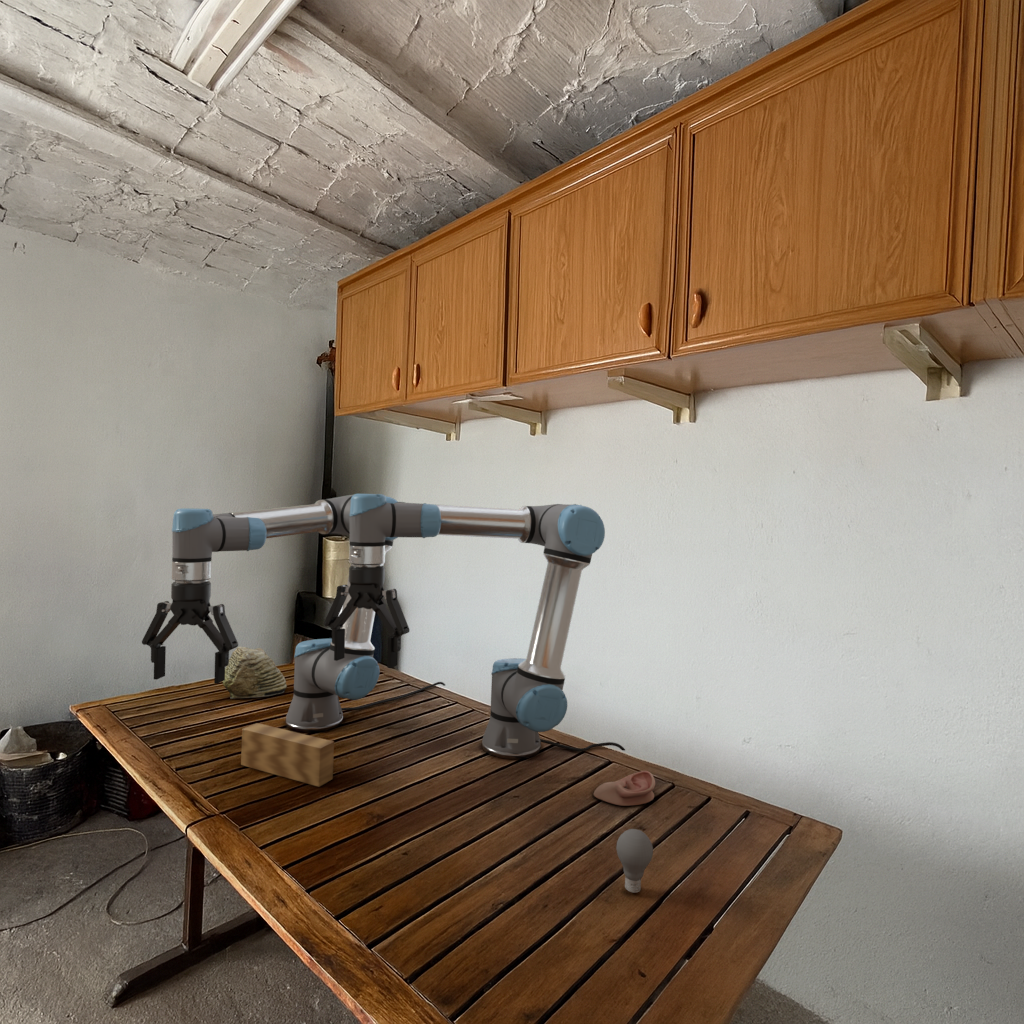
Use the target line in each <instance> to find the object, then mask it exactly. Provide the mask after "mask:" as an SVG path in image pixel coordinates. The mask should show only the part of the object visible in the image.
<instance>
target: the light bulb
mask: <svg viewBox="0 0 1024 1024" xmlns="http://www.w3.org/2000/svg"><path fill="white" fill-rule="evenodd" d="M615 849H616V854H617V857H618V859H619V861H620V863H621V865H622V867H623V873H624V874H623V875H624V876H625V878H624V888H625V890H627V891H628V892H630V893H634V894H635V893H639V892H640V891H641V889H642V887H641V886H642V879H643V877H644V875H645V871H646V868H647V867H648V866H649V864H650V863H651V861H652V859H653V855H654V847H653V843H652V841H651V838H649V836H648V835H647V834H646V833H645V832H643V831H642V830H641V829H636V828H629V829H627V830H625V831H623V832H622V833H621V834H620V835H619V837H618V839H617V841H616V847H615Z"/></svg>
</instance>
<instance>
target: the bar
mask: <svg viewBox="0 0 1024 1024" xmlns="http://www.w3.org/2000/svg"><path fill="white" fill-rule="evenodd" d="M334 757H335V741H334V740H329V739H325V738H321V737H317V736H313V735H309V734H305V733H302V732H301V733H300V732H298V731H294V730H288V729H285V728H280V727H275V726H271V725H268V724H263V723H259V722H255V723H253V724H251V725H249V726H248V725H247V726H246V727H243V728H242V729H241V755H240V765H241V766H242V767H243V766H244V767H247V768H250V769H254V770H256V771H257V770H258V771H261V772H264V773H267V774H272V775H275V776H279V777H283V778H286V779H289V780H293V781H295V782H296V781H297V782H300V783H304V784H308V785H310V786H314V787H318V788H320V787H322V786H323V785H325V784H327V783H328V782H330V781H331V780H333V779H334Z"/></svg>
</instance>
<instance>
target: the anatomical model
mask: <svg viewBox="0 0 1024 1024" xmlns="http://www.w3.org/2000/svg"><path fill="white" fill-rule="evenodd" d="M655 787H656V779H655V776H654V775H653V774H652V772H651V771H648V770H641V771H636V772H634V773H631V774H629V775H626V776H624V777H623V778H620V779H618V780H615V781H606V782H604V783H601V784H600V785H599V786H597V787H596V788H595V789H594V792H593V797H595V798H596V799H598V800H600V801H603V802H606V803H608V804H612V805H616V806H621V807H627V806H638V805H643V804H647V803H650V802H651V801H653V800H654V798H655V793H654V791H653V790H654V789H655Z"/></svg>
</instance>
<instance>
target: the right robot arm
mask: <svg viewBox="0 0 1024 1024" xmlns="http://www.w3.org/2000/svg"><path fill="white" fill-rule="evenodd" d="M352 495H353V496H352V497H351V506H350V514H349V516H350V535H349V539H350V542H349V547H348V548H349V549H348V550H349V552H348V553H349V555H348V556H349V557H348V559H349V560H348V561H349V564H350V565H349V567H348V577H349V582H350V587H348V585H347V584H342V585H338V586H337V588H336V592H335V597H334V599H333V602H332V604H331V606H330V608H329V611H328V612H327V614H326V617H325V619H324V622H323V625H324V627H328V628H330V630H331V639H332V644H334V660H335V661H338V660H340V659H343V658H345V629H340V628H342V627H343V625H344V623H345V622H346V621H347V620H348V618H349V617H350V616H351V614H352V613H353V612H354V611H355V609H356V608H357V607H358V608H366V609H373V611H374V612H375V614H377V616H378V617H379V619H380V620H381V622H382V623H383V625H384V627H385V628H386V630H387V631H388V632H389V634H390V636H388V637H387V666H386V667H387V669H393V668H394V667H397V666H398V653H399V652H400V651H401V649H402V636H403V635H406V634H408V633H410V627H409V625H408V622H407V619H406V617H405V615H404V612H403V610H402V607H401V605H400V601H399V599H398V591H397V589H396V588H392V589H385V588H384V583H385V579H386V578H385V577H386V576H385V574H386V573H385V572H386V571H385V570H386V568H385V566H384V565H383V566H382V564H383V563H384V564H385V563H386V553H385V537H398V538H422V539H425V538H436V537H437V536H451V537H470V538H490V539H491V538H492V539H512V540H513V539H515V540H517V541H518V542H519V543H521V544H533V545H537V546H541V547H544V548H543V553H542V555H543V557H544V559H545V560H546V563H547V564H546V567H545V572H544V577H543V581H542V585H541V591H540V594H539V599H538V604H537V609H536V613H535V618H534V621H533V626H532V631H531V636H530V640H529V645H528V649H527V653H526V658H522V657H521V658H519V657H518V658H502V659H501V658H500V659H497V660H495V661H494V662H493V664H492V671H491V672H490V673H491V674H490V675H491V686H490V687H491V690H490V691H491V692H490V713H489V714H490V716H489V720H488V722H487V725H486V728H485V730H484V733H483V737H482V741H481V748H482V750H483V752H485V753H486V754H488V755H490V756H492V757H496V758H499V759H507V760H523V759H528V758H532V757H535V756H536V755H538V754H539V753H540V752H541V748H542V747H541V746H542V745H541V744H542V743H543V744H547V745H550V746H554V747H557V748H560V749H565V750H568V751H573V752H580V753H581V752H587V751H589V750H591V749H594V748H601V747H608V746H612V747H616V748H619V749H620V750H621V751H626V748H625V747H624V746H623V745H621V744H619V743H618V742H613V741H611V742H610V741H607V742H601V743H592V744H590V745H588V746H586V747H580V748H579V747H572V746H569V745H565V744H561V743H558V742H554V741H551V740H546V739H543V738H541V737H540V734H539V733H545V732H548V731H551V730H553V729H554V728H555V727H557V726H558V725H559V724H560V723H561V722H562V721H563V720H564V718H565V716H566V714H567V711H568V699H567V697H566V694H565V692H564V690H563V689H564V686H565V680H566V674H565V673H564V670H562V663H563V660H564V655H565V651H566V646H567V641H568V637H569V632H570V628H571V624H572V623H571V622H572V619H573V614H574V609H575V604H576V601H577V596H578V591H579V586H580V582H581V577H582V574H583V570H584V569H586V568H588V567H589V566H591V561H592V557H593V554H595V553H596V552H597V551H598V550H599V549H600V548H601V547H602V545H603V543H604V541H605V537H606V528H605V524H604V521H603V519H602V517H601V516H600V514H599V513H598V512H597V511H596V510H594V509H593V508H591V507H589V506H586V505H582V504H576V503H573V504H566V503H565V504H563V503H555V504H554V503H553V504H545V505H522V506H520V507H519V508H518V509H517V508H502V507H483V506H468V505H467V506H466V505H454V504H453V505H449V504H436V503H435V504H434V503H426V502H424V503H417V502H416V503H415V502H405V501H398V502H396V503H387V501H386V497H385V496H386V495H385V494H384V493H354V494H352ZM351 564H352V566H351ZM348 594H349V595H350V596H351V599H350V601H349V602H348V603H347V604H346V605H347V606H346V607H345V608H344V610H343V605H344V602H345V600H346V598H347V595H348ZM383 598H384V600H385V601H386V602H385V601H384V600H383ZM387 606H388V607H387ZM342 610H343V611H342Z"/></svg>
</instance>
